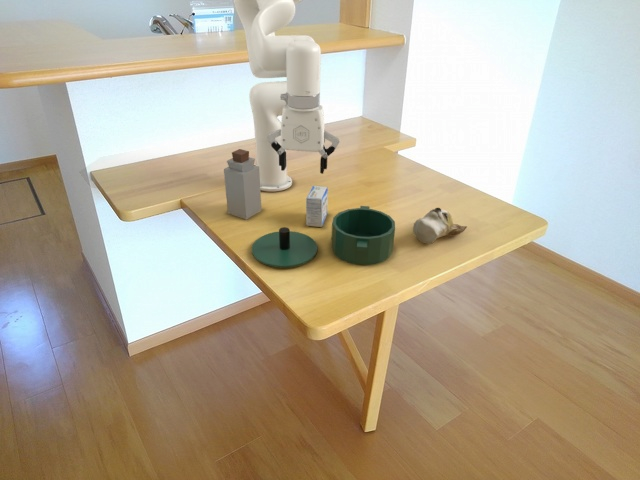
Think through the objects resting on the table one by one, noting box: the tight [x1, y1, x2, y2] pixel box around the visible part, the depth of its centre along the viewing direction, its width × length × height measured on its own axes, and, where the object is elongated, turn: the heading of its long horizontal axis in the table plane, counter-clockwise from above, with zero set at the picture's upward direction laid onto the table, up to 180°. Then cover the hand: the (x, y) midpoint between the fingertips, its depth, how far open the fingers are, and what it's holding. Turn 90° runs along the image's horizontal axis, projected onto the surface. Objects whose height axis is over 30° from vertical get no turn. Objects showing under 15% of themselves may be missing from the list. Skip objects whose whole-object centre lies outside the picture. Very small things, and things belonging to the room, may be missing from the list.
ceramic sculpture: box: [413, 207, 468, 245], centre depth 124 cm, size 11×9×15 cm
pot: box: [331, 205, 396, 266], centre depth 119 cm, size 15×21×8 cm
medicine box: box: [305, 185, 329, 228], centre depth 131 cm, size 8×4×9 cm, turn 168°
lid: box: [251, 226, 318, 269], centre depth 117 cm, size 16×16×6 cm
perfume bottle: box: [223, 148, 262, 220], centre depth 132 cm, size 7×7×18 cm
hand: (303, 169), depth 118 cm, fingers open, 9 cm apart
